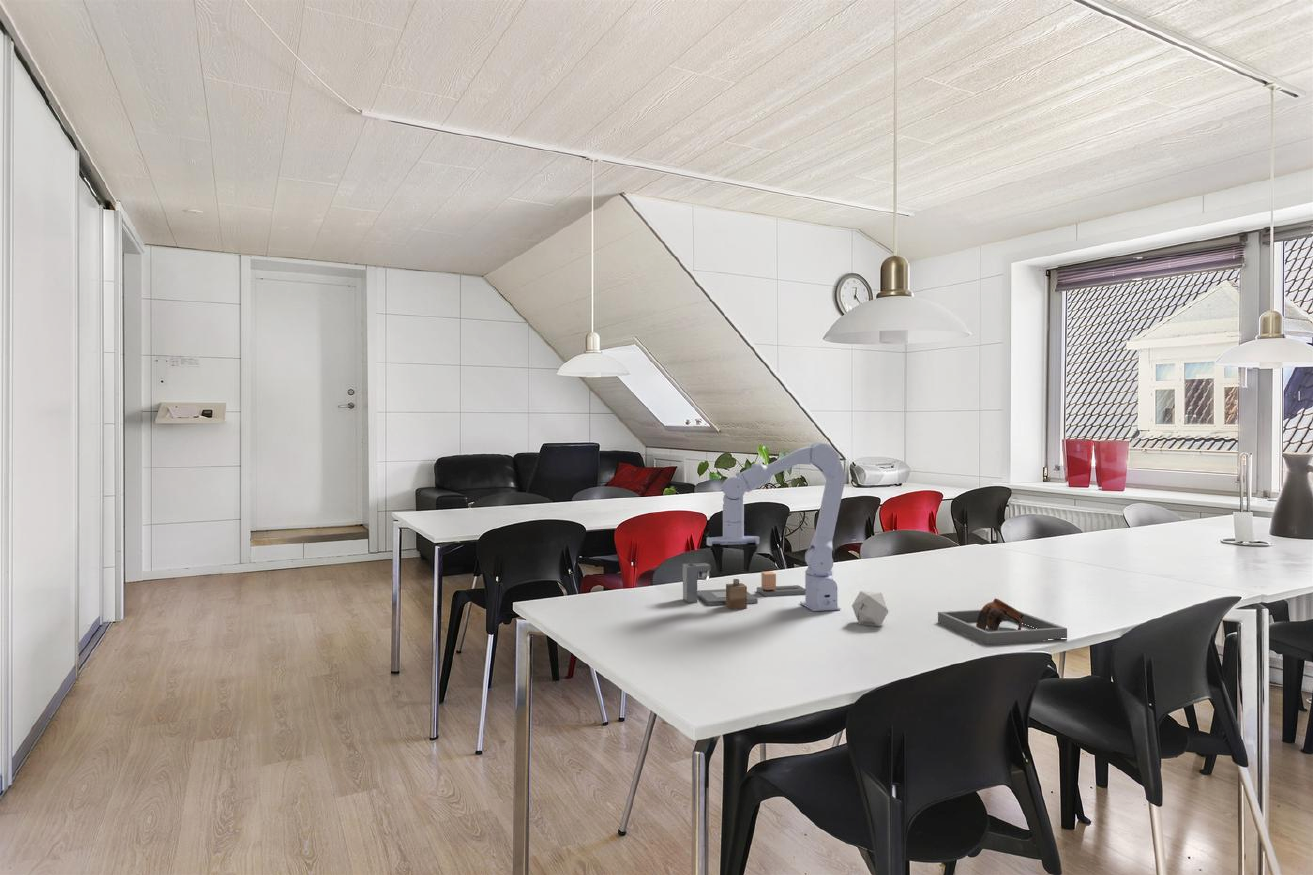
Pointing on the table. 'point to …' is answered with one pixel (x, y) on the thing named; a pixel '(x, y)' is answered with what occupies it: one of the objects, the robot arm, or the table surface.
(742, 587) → the block
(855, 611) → the die
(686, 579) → the press
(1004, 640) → the tray
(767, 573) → the peach small block
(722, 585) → the table surface
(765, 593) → the base
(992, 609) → the brown arched piece
